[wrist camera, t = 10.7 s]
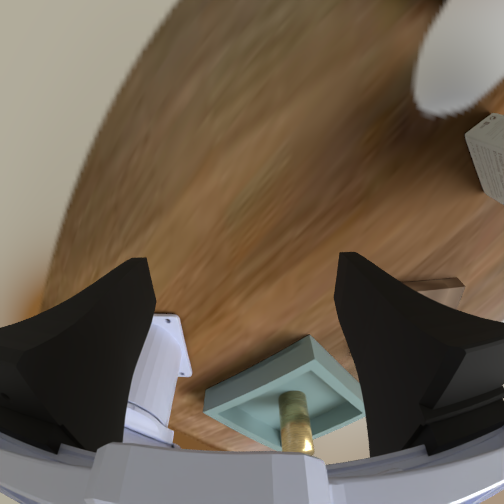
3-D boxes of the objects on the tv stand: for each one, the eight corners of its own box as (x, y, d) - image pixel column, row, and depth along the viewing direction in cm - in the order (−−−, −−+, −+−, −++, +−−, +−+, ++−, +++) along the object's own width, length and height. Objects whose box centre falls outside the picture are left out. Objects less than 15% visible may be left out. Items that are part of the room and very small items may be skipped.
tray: (278, 432, 35) (279, 451, 33) (205, 389, 30) (202, 412, 28) (368, 391, 31) (374, 411, 29) (309, 334, 27) (314, 358, 24)
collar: (361, 354, 28) (365, 365, 27) (379, 283, 24) (386, 294, 23) (432, 344, 28) (437, 353, 27) (457, 277, 24) (465, 286, 23)
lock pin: (276, 406, 31) (281, 460, 25) (279, 390, 30) (284, 449, 23) (303, 405, 31) (311, 459, 25) (307, 389, 30) (317, 446, 24)
